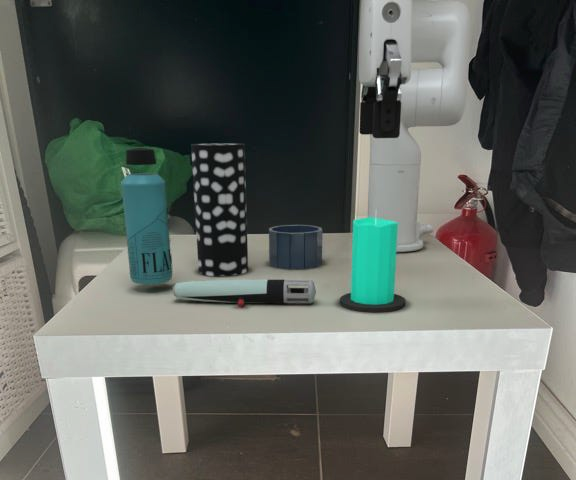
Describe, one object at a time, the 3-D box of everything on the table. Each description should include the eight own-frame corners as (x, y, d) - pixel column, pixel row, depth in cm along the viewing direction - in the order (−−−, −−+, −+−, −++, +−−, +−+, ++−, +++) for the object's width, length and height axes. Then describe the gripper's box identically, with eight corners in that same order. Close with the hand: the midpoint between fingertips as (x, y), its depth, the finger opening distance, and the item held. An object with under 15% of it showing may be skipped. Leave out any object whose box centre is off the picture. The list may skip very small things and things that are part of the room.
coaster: (376, 291, 95) (376, 287, 94) (419, 305, 88) (419, 301, 87) (326, 301, 90) (326, 296, 90) (368, 316, 83) (368, 311, 83)
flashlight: (167, 295, 87) (315, 297, 85) (172, 273, 90) (316, 274, 88) (171, 313, 89) (315, 314, 88) (177, 291, 92) (316, 292, 91)
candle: (347, 293, 91) (349, 206, 87) (389, 292, 92) (393, 206, 87) (354, 305, 86) (357, 212, 81) (398, 304, 86) (404, 212, 81)
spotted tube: (188, 273, 107) (180, 144, 99) (216, 263, 114) (210, 143, 106) (231, 278, 103) (225, 145, 95) (257, 268, 110) (254, 143, 102)
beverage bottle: (140, 296, 93) (125, 149, 85) (124, 287, 98) (109, 148, 90) (181, 290, 96) (171, 148, 88) (163, 281, 101) (152, 146, 94)
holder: (302, 256, 119) (302, 223, 117) (332, 264, 112) (332, 229, 110) (259, 262, 115) (258, 228, 112) (288, 271, 108) (287, 235, 105)
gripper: (436, -35, 68) (424, 139, 74) (400, -9, 83) (393, 132, 90) (365, -35, 67) (360, 140, 74) (342, -9, 83) (340, 133, 90)
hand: (378, 135), depth 82 cm, fingers open, 9 cm apart
